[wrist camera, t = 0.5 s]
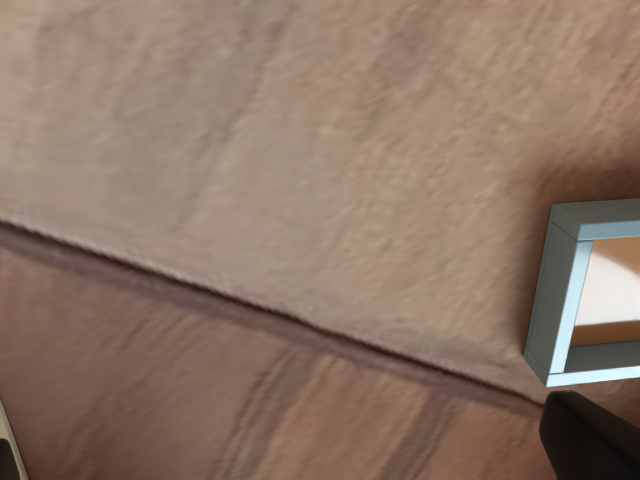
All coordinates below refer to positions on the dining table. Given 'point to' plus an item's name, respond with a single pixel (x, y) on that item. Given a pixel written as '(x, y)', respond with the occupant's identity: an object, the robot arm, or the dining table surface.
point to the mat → (11, 442)
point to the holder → (588, 295)
